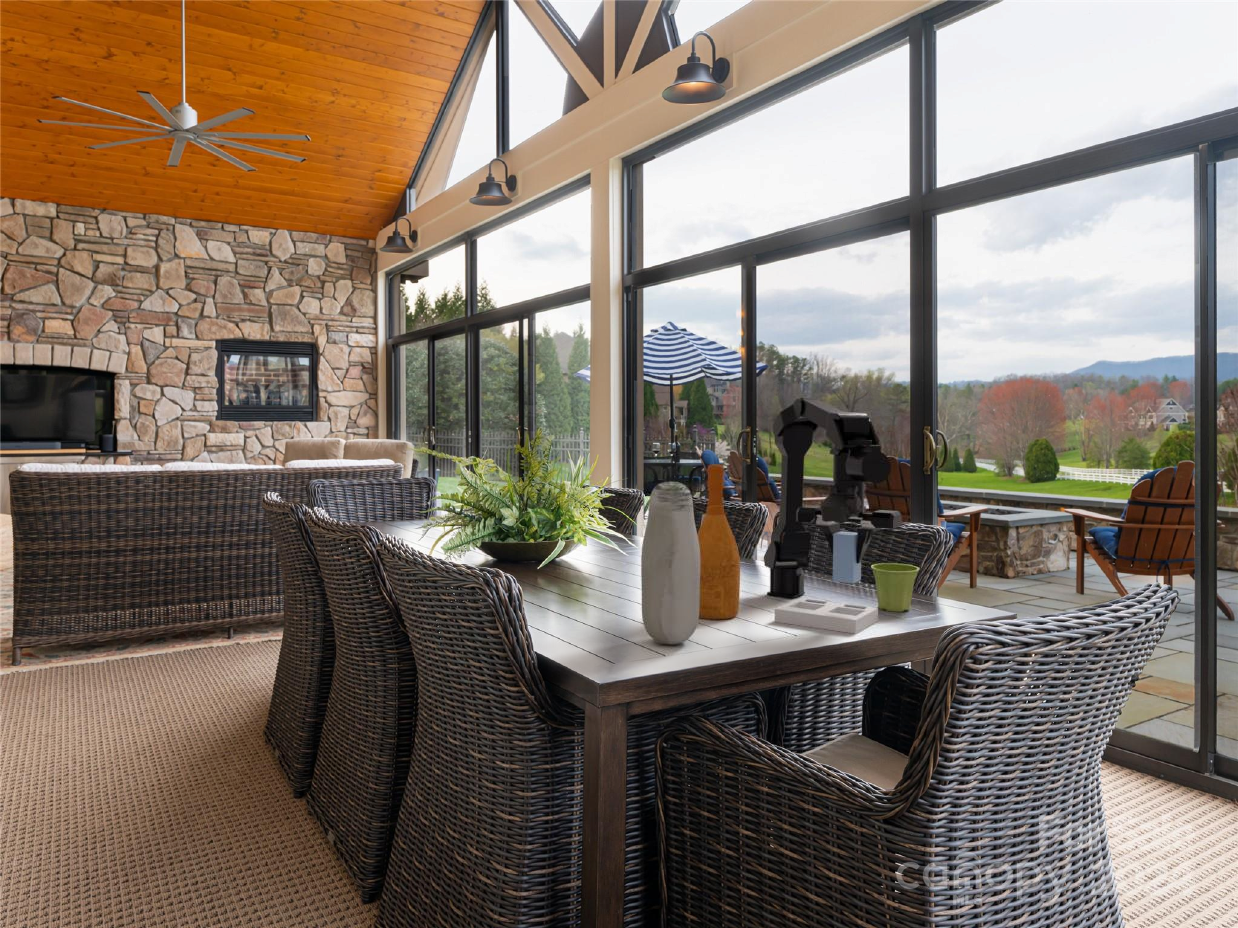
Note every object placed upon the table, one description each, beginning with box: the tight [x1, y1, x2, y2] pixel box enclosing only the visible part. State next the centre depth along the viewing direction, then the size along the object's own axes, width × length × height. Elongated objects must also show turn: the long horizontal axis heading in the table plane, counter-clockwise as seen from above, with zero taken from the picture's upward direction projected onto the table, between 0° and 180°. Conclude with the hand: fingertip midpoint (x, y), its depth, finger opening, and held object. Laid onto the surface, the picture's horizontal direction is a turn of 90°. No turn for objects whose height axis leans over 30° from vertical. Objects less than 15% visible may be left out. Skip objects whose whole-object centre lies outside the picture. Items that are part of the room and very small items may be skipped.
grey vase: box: [640, 481, 700, 646], centre depth 149 cm, size 10×10×28 cm
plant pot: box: [870, 562, 920, 613], centre depth 177 cm, size 9×9×9 cm
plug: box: [832, 531, 862, 584], centre depth 163 cm, size 4×5×9 cm
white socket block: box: [774, 598, 879, 634], centre depth 166 cm, size 16×12×3 cm
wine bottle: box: [697, 463, 741, 620], centre depth 170 cm, size 10×10×30 cm
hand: (847, 562), depth 163 cm, fingers closed on plug, 4 cm apart
